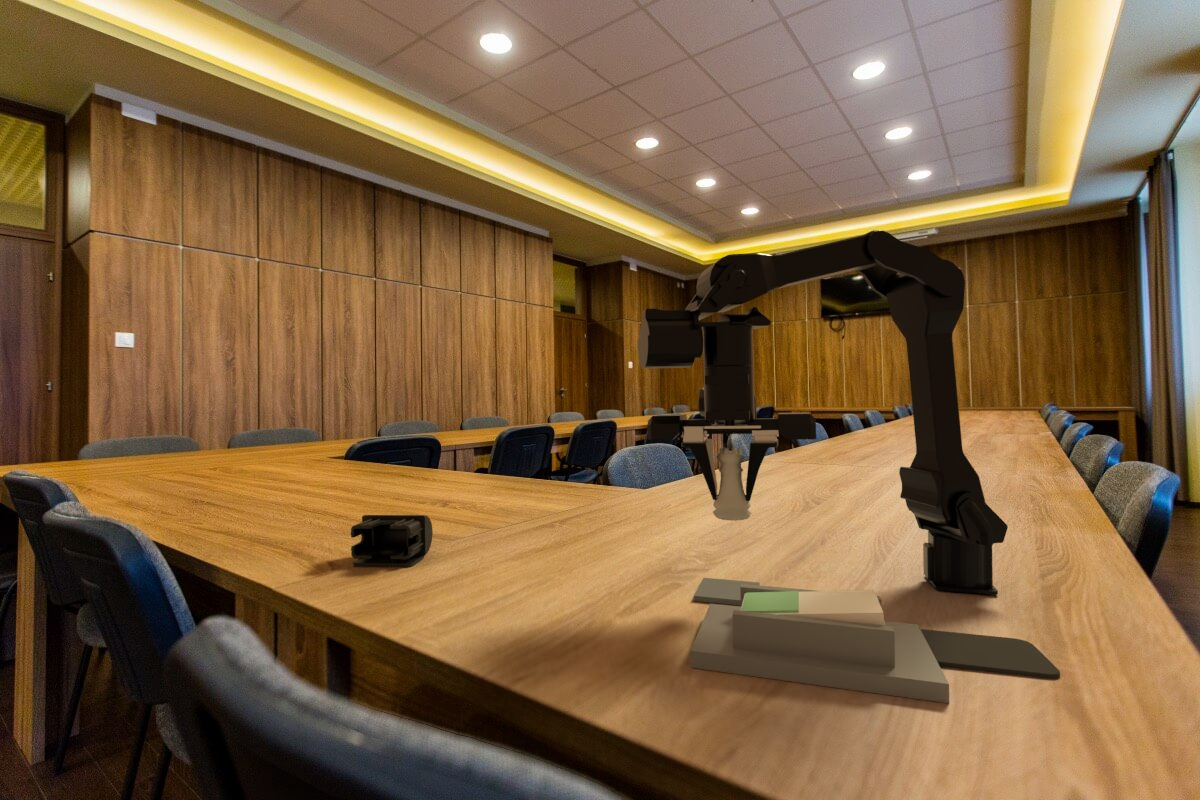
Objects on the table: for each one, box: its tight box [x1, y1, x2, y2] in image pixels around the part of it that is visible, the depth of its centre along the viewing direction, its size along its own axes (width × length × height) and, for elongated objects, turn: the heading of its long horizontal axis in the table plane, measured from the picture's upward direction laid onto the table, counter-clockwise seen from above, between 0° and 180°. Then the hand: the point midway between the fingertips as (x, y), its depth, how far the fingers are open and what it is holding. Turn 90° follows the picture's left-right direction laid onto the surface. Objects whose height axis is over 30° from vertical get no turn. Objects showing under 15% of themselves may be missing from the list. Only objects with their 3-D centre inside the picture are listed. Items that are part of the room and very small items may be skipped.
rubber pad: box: [693, 577, 761, 607], centre depth 69 cm, size 7×7×1 cm
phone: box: [920, 628, 1061, 680], centre depth 53 cm, size 7×1×15 cm
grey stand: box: [690, 584, 950, 704], centre depth 53 cm, size 20×12×4 cm, turn 71°
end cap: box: [350, 514, 433, 569], centre depth 86 cm, size 10×7×7 cm
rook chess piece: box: [712, 447, 752, 521], centre depth 67 cm, size 4×4×8 cm
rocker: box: [740, 589, 886, 626], centre depth 53 cm, size 12×6×2 cm, turn 71°
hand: (731, 500), depth 67 cm, fingers closed on rook chess piece, 3 cm apart
